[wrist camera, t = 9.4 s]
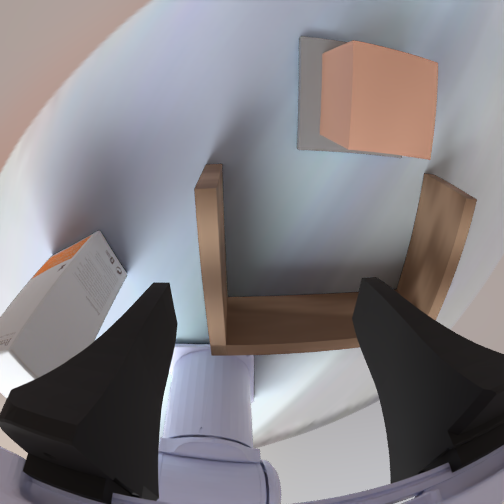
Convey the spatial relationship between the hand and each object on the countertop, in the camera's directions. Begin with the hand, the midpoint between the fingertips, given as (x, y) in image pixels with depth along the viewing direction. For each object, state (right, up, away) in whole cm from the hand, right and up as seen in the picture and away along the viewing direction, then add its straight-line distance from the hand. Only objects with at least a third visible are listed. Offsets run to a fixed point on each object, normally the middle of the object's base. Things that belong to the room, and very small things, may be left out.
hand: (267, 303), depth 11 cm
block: (+6, +11, +4) cm, 13 cm away
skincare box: (-13, +1, +10) cm, 17 cm away
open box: (+5, +3, +10) cm, 11 cm away
